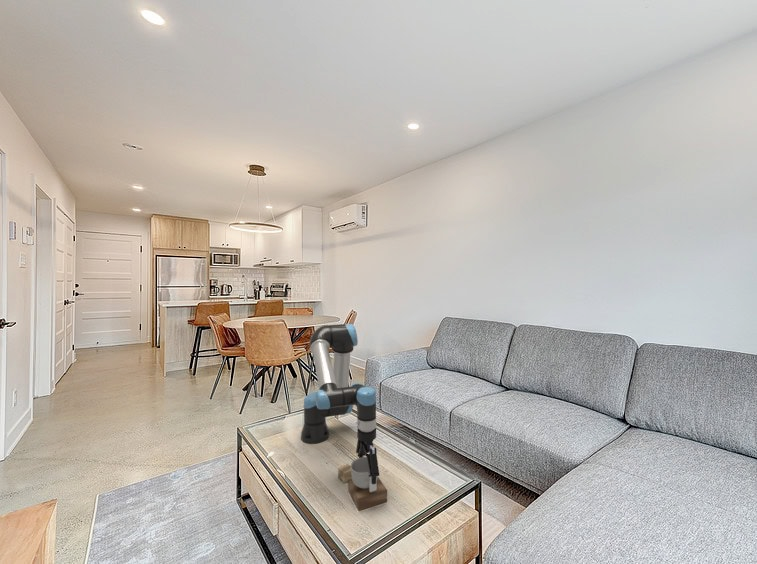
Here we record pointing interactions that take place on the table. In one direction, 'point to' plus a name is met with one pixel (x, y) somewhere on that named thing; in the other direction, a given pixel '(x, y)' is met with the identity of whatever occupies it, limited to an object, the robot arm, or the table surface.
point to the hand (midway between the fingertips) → (367, 481)
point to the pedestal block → (367, 495)
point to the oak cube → (344, 473)
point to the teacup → (360, 472)
